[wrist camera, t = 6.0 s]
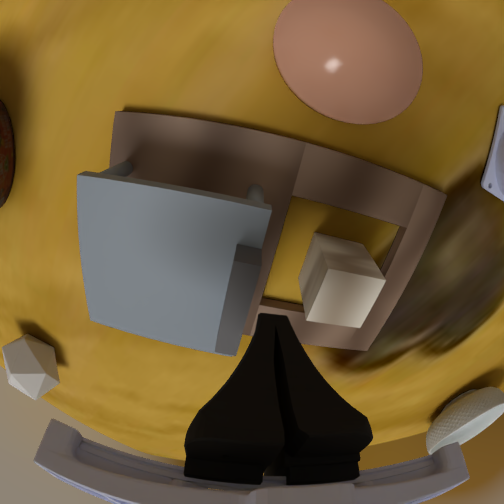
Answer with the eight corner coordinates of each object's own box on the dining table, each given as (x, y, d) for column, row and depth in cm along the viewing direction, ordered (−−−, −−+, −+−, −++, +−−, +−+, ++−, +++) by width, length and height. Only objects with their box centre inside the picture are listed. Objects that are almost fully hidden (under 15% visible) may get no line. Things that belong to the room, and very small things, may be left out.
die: (29, 310, 27) (-18, 347, 21) (59, 363, 24) (8, 404, 18) (50, 334, 33) (9, 366, 27) (79, 379, 30) (36, 414, 25)
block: (362, 243, 20) (386, 280, 16) (344, 286, 22) (360, 327, 18) (314, 231, 20) (328, 268, 15) (298, 277, 22) (306, 320, 17)
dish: (424, 27, 12) (430, 24, 11) (398, 143, 16) (404, 146, 16) (290, -25, 11) (291, -31, 10) (257, 99, 16) (256, 98, 15)
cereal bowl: (403, 433, 38) (411, 463, 31) (453, 380, 30) (469, 416, 24) (462, 417, 38) (471, 442, 32) (508, 366, 30) (523, 393, 24)
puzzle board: (440, 191, 18) (447, 195, 17) (364, 343, 25) (366, 350, 24) (122, 110, 16) (115, 111, 15) (116, 296, 23) (112, 303, 22)
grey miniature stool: (269, 183, 17) (273, 224, 11) (237, 310, 21) (229, 375, 16) (118, 157, 16) (59, 183, 10) (116, 281, 21) (80, 335, 15)
